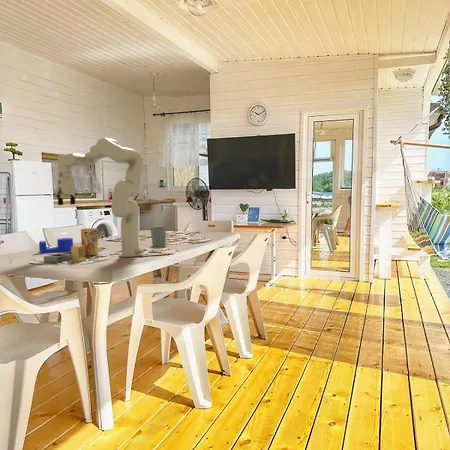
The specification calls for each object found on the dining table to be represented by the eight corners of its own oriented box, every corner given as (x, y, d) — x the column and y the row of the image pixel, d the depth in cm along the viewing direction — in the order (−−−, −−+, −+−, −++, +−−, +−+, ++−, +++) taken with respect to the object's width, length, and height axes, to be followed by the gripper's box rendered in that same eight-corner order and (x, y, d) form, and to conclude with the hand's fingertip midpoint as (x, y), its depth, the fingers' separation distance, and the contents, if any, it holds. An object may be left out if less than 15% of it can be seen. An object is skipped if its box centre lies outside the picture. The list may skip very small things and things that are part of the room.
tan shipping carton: (85, 260, 214) (84, 245, 214) (79, 262, 210) (78, 246, 210) (77, 260, 216) (76, 245, 216) (71, 261, 212) (70, 246, 212)
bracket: (69, 249, 261) (69, 237, 261) (75, 250, 255) (75, 238, 254) (38, 253, 248) (37, 240, 247) (43, 254, 241) (43, 241, 241)
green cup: (164, 246, 266) (164, 228, 265) (149, 246, 266) (149, 228, 265) (167, 244, 276) (166, 226, 275) (152, 244, 276) (152, 227, 275)
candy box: (98, 253, 238) (97, 227, 237) (98, 254, 234) (96, 228, 233) (82, 254, 236) (81, 228, 235) (82, 255, 232) (80, 229, 231)
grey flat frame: (71, 256, 230) (71, 251, 230) (84, 257, 227) (83, 251, 227) (43, 262, 212) (43, 256, 211) (57, 263, 208) (56, 257, 208)
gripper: (59, 175, 229) (60, 205, 231) (80, 175, 245) (82, 204, 247) (49, 175, 232) (50, 205, 234) (71, 176, 248) (72, 204, 250)
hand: (66, 204), depth 240 cm, fingers open, 9 cm apart
